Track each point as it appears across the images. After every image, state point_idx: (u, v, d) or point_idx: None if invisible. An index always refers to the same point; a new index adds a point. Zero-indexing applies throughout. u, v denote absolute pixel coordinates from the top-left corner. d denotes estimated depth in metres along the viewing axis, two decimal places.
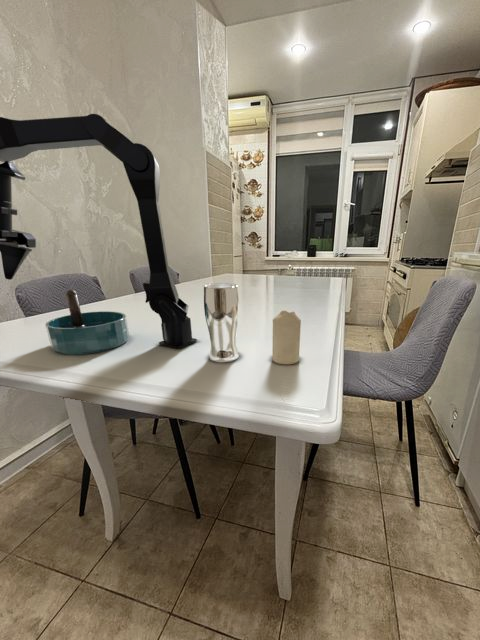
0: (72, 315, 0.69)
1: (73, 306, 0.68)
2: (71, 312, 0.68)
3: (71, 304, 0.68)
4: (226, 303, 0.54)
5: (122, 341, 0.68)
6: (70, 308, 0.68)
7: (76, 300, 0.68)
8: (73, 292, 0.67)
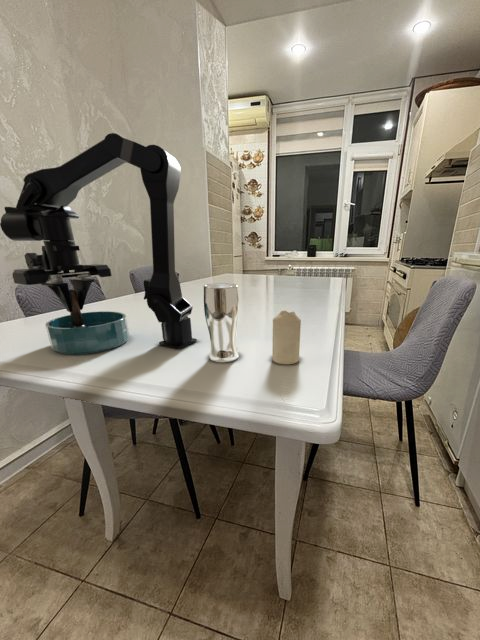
0: (72, 315, 0.69)
1: (73, 306, 0.68)
2: (71, 312, 0.68)
3: (71, 304, 0.68)
4: (226, 303, 0.54)
5: (122, 341, 0.68)
6: None
7: (76, 300, 0.68)
8: (73, 292, 0.67)
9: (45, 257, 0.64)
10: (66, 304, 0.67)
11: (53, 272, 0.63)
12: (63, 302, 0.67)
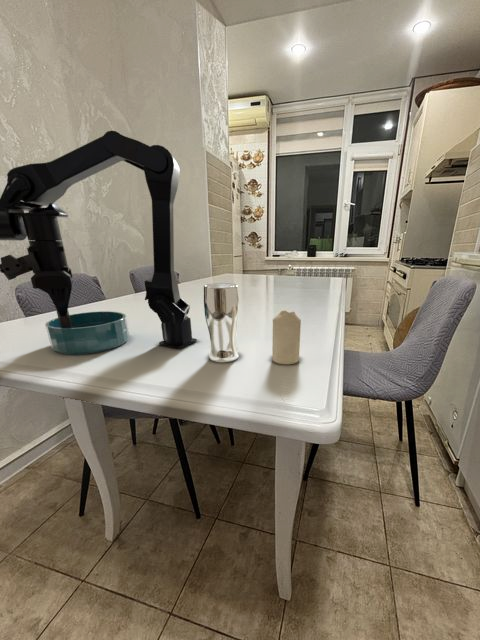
0: (65, 319, 0.65)
1: None
2: (64, 316, 0.65)
3: None
4: (226, 303, 0.54)
5: (122, 341, 0.68)
6: None
7: None
8: None
9: (35, 259, 0.58)
10: (65, 307, 0.63)
11: None
12: (60, 306, 0.63)
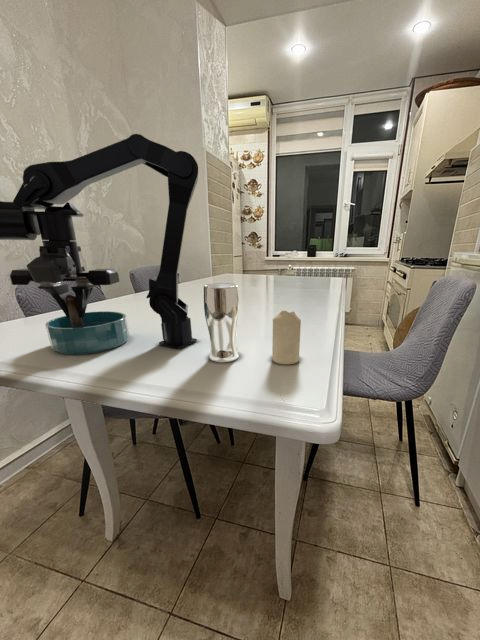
0: (82, 321, 0.64)
1: None
2: (81, 318, 0.63)
3: None
4: (226, 303, 0.54)
5: (122, 341, 0.68)
6: None
7: None
8: None
9: None
10: (85, 307, 0.63)
11: None
12: (84, 306, 0.62)
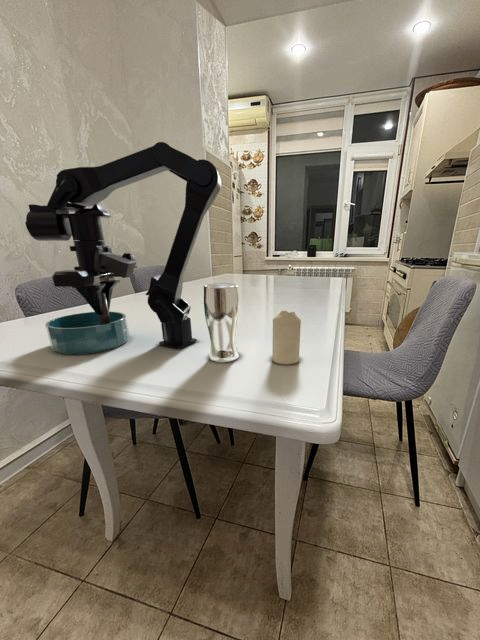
0: None
1: None
2: None
3: None
4: (226, 303, 0.54)
5: (122, 341, 0.68)
6: None
7: None
8: None
9: None
10: None
11: None
12: None
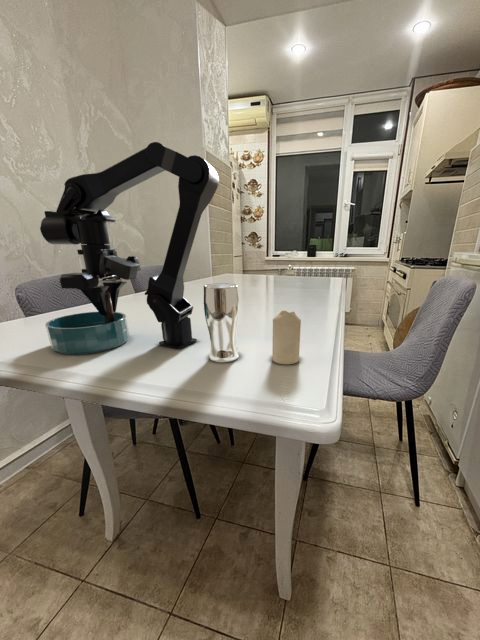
0: None
1: None
2: None
3: None
4: (226, 303, 0.54)
5: (122, 341, 0.68)
6: None
7: None
8: None
9: None
10: None
11: None
12: None
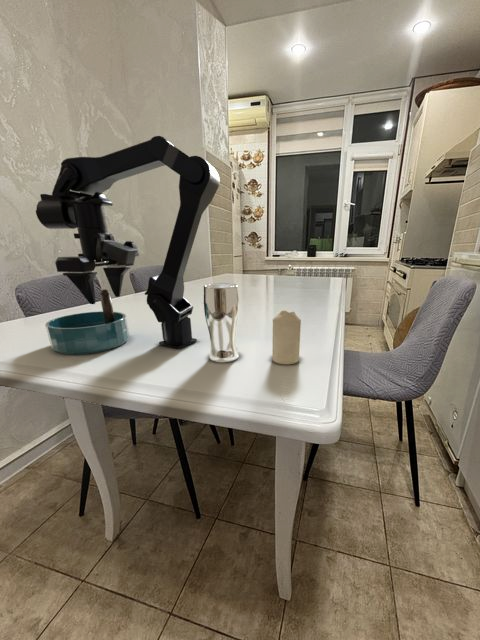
0: None
1: None
2: None
3: None
4: (226, 303, 0.54)
5: (122, 341, 0.68)
6: None
7: (101, 300, 0.68)
8: (100, 292, 0.67)
9: None
10: None
11: None
12: None
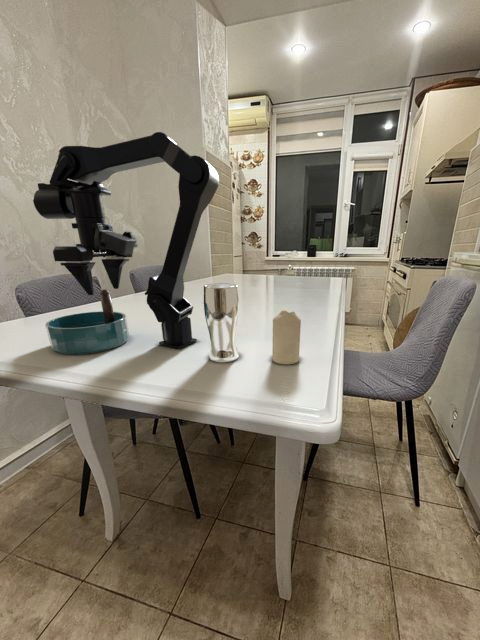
0: None
1: None
2: None
3: None
4: (226, 303, 0.54)
5: (122, 341, 0.68)
6: None
7: (101, 300, 0.68)
8: (100, 292, 0.67)
9: None
10: None
11: None
12: None
